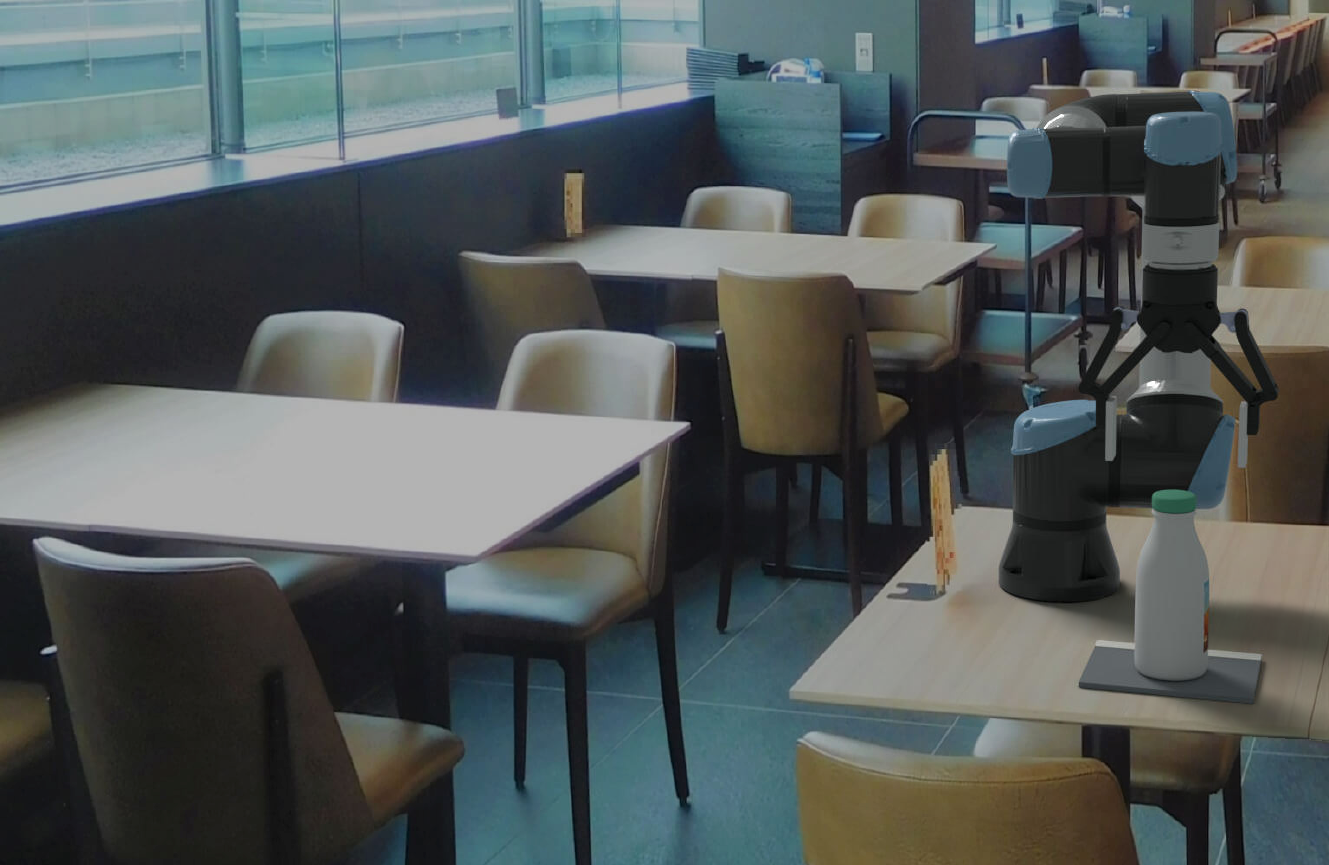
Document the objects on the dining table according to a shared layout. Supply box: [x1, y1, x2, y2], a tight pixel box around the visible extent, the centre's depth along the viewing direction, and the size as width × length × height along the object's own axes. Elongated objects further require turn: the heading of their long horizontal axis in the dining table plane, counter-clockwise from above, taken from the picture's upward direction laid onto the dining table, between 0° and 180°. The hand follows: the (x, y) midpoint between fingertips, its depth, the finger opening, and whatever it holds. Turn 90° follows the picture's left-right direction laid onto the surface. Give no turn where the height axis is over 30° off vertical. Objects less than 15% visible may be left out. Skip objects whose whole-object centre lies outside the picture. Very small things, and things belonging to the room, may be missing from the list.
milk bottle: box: [1134, 490, 1210, 681], centre depth 193 cm, size 8×8×20 cm
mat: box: [1078, 639, 1263, 705], centre depth 196 cm, size 18×14×1 cm
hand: (1175, 461), depth 190 cm, fingers open, 13 cm apart
